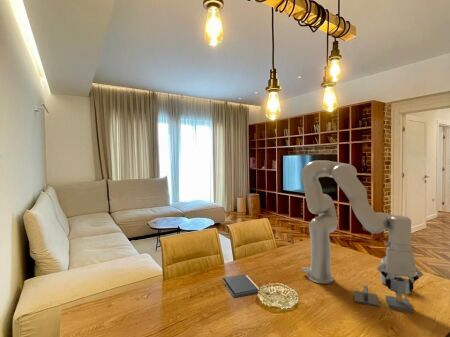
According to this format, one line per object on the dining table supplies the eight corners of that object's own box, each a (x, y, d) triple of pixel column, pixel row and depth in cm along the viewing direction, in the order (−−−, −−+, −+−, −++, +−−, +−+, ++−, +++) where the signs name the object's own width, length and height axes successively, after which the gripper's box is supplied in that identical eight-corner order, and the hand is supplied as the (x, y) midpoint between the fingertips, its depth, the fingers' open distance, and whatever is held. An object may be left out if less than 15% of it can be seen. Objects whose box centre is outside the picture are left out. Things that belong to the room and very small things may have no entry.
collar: (391, 292, 102) (391, 281, 102) (387, 284, 108) (387, 274, 108) (411, 295, 100) (411, 284, 100) (406, 287, 106) (406, 277, 106)
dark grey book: (220, 275, 130) (247, 271, 134) (220, 279, 130) (247, 275, 134) (232, 295, 111) (264, 290, 115) (232, 300, 111) (264, 294, 115)
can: (401, 288, 118) (402, 262, 118) (384, 286, 120) (384, 261, 119) (394, 280, 126) (394, 256, 125) (377, 279, 127) (378, 255, 127)
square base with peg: (389, 308, 102) (389, 292, 102) (385, 298, 110) (385, 283, 109) (413, 313, 99) (413, 297, 99) (407, 302, 106) (408, 287, 106)
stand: (354, 302, 107) (354, 288, 107) (353, 292, 115) (353, 279, 115) (379, 307, 103) (379, 292, 103) (376, 296, 111) (376, 282, 111)
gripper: (377, 246, 103) (376, 289, 104) (429, 252, 97) (428, 297, 97) (373, 241, 110) (373, 281, 111) (421, 245, 104) (421, 288, 104)
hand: (399, 288), depth 104 cm, fingers closed on collar, 6 cm apart
